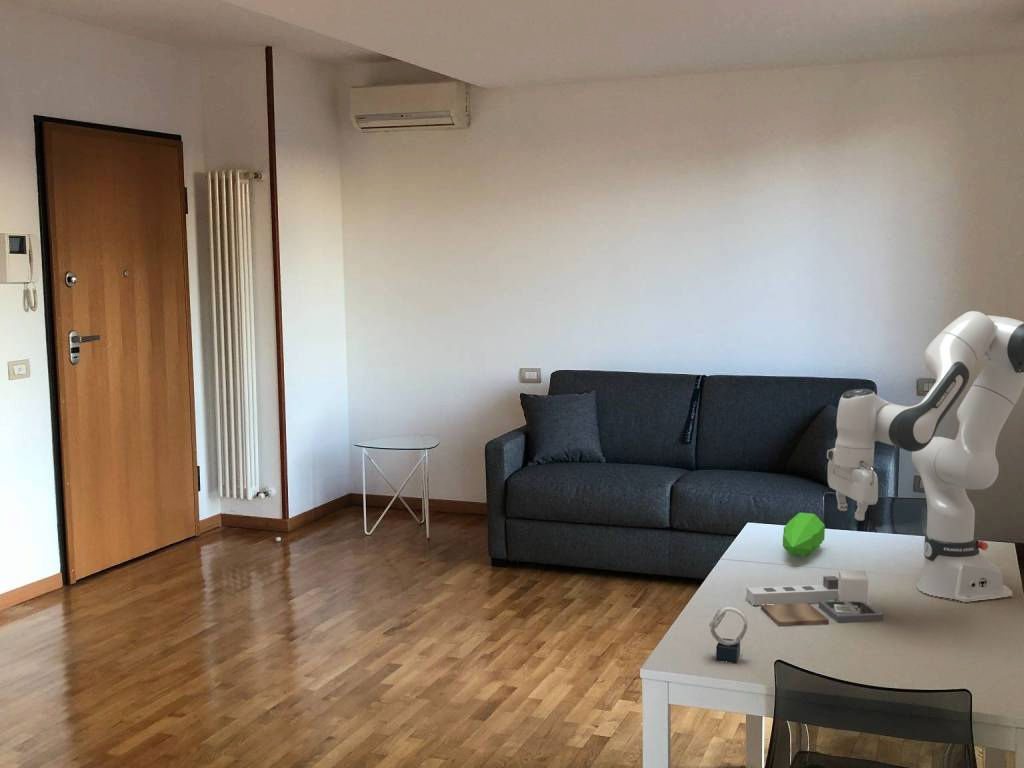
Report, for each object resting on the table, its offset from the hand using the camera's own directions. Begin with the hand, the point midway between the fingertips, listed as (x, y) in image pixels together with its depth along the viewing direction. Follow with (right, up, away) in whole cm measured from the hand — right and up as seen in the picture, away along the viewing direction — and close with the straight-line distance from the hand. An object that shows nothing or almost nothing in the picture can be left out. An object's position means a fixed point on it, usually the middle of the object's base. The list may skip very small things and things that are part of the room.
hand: (850, 514), depth 253 cm
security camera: (0, -24, +2) cm, 24 cm away
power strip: (-10, -23, +10) cm, 27 cm away
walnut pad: (-13, -24, 0) cm, 28 cm away
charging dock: (0, -24, +2) cm, 24 cm away
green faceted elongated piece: (+2, -18, +52) cm, 55 cm away
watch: (-34, -28, -25) cm, 51 cm away
